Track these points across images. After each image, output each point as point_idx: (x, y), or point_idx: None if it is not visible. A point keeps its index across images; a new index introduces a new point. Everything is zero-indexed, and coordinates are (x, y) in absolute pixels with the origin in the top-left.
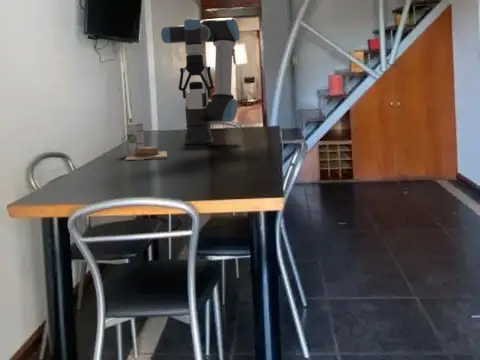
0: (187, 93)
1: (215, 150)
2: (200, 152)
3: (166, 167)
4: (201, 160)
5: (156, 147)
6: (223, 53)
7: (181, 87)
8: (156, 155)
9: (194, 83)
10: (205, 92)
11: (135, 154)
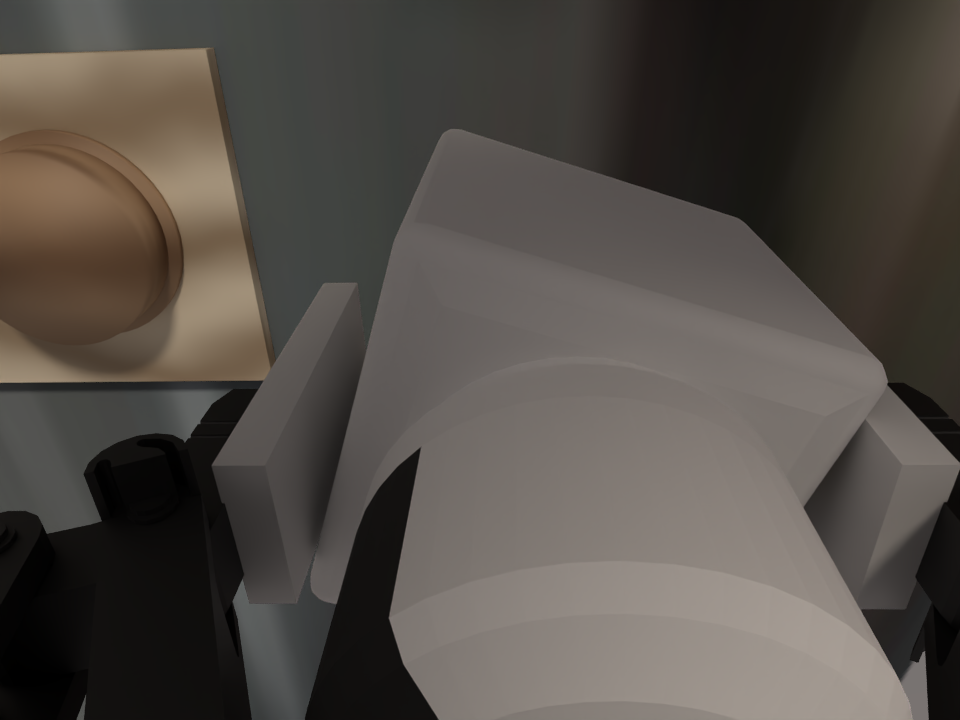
0: (322, 599)
1: (692, 34)
2: (534, 126)
3: (324, 646)
4: None
5: (132, 247)
6: None
7: (77, 706)
8: (177, 308)
9: None
10: (865, 416)
11: None
